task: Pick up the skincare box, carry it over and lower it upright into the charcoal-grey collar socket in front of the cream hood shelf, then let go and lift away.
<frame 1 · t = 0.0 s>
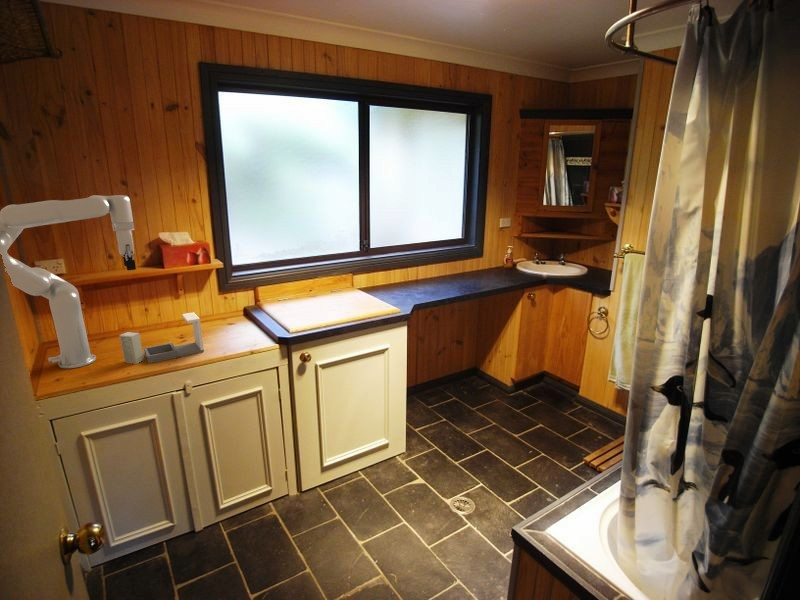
hand: (130, 267, 189), 37 cm above the table, tool pointing down, fingers open, 9 cm apart
skincare box: (134, 361, 187), on the table
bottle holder: (174, 353, 195), on the table
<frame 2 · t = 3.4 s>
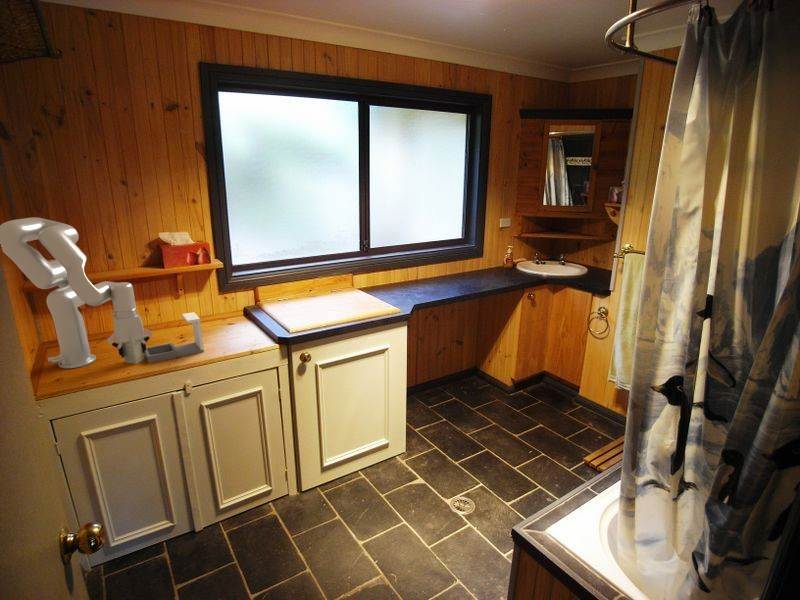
hand: (133, 354, 186), 3 cm above the table, tool pointing down, fingers closed on skincare box, 7 cm apart
skincare box: (134, 361, 187), on the table, touching gripper
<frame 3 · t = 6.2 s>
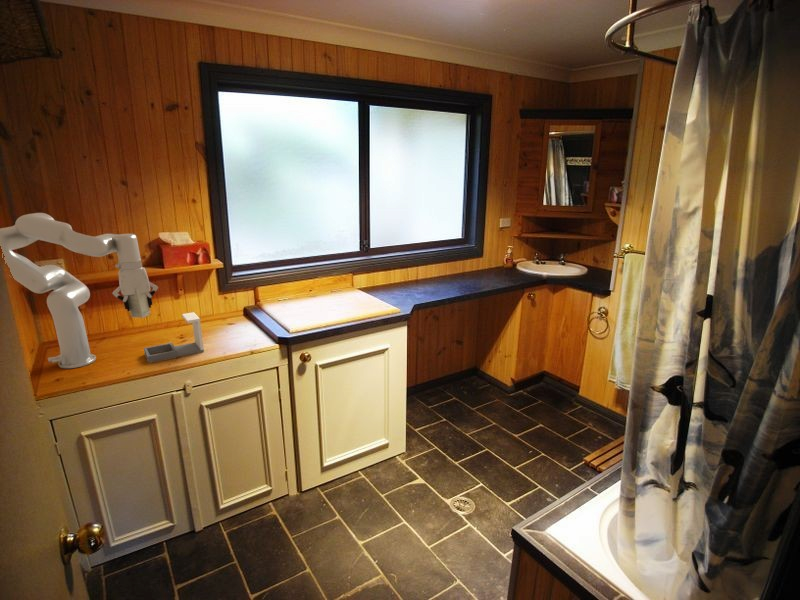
hand: (139, 308, 183), 22 cm above the table, tool pointing down, fingers closed on skincare box, 7 cm apart
skincare box: (140, 316, 184), point 19 cm above the table, touching gripper
when the fingers open (4 cm above the table, at t = 9.2 s): skincare box drops 1 cm, resting in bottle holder.
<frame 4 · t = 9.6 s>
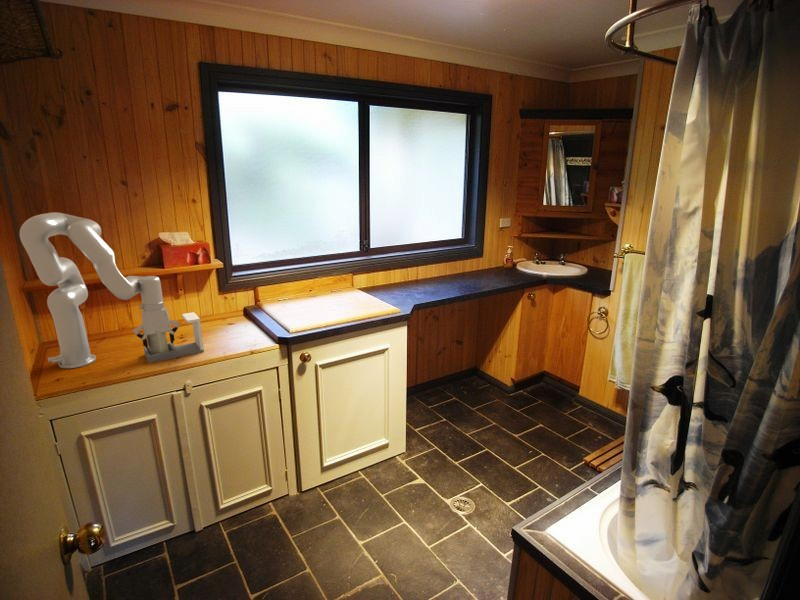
hand: (159, 344, 191), 5 cm above the table, tool pointing down, fingers open, 9 cm apart
skincare box: (159, 356, 192), resting in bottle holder
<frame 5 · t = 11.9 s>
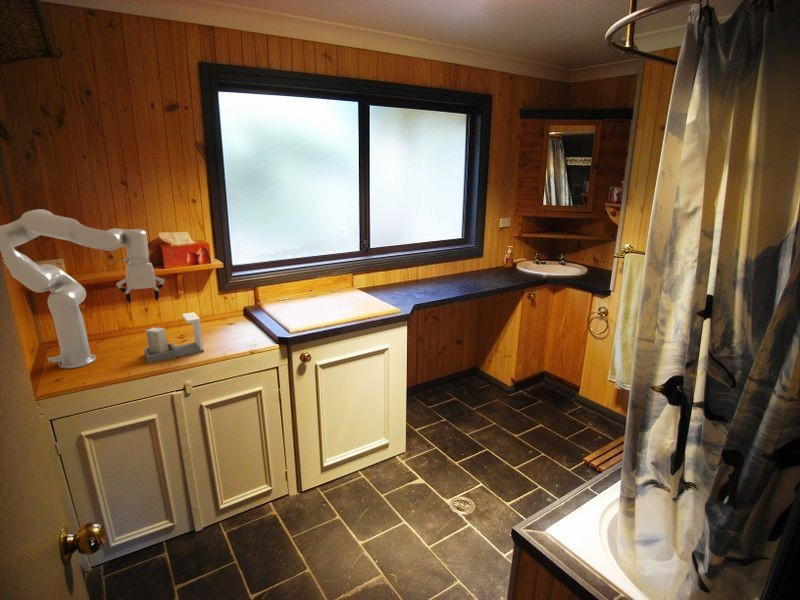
hand: (143, 301, 187), 24 cm above the table, tool pointing down, fingers open, 9 cm apart
nothing on the table moved.
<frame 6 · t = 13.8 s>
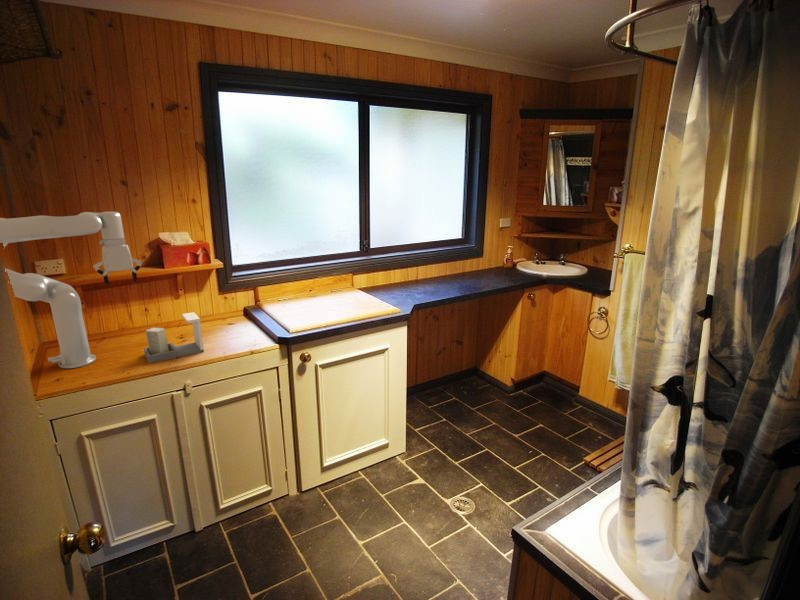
hand: (121, 283, 190), 30 cm above the table, tool pointing down, fingers open, 9 cm apart
nothing on the table moved.
at the end: skincare box 0.6 cm from the target spot on the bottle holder, point 0.0 cm above the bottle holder's base; skincare box tilted 0°; the gripper is holding nothing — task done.
